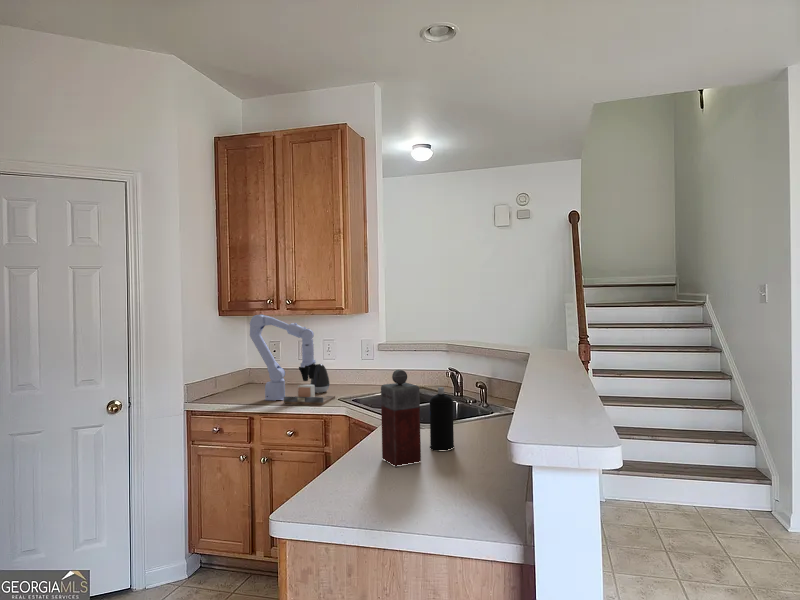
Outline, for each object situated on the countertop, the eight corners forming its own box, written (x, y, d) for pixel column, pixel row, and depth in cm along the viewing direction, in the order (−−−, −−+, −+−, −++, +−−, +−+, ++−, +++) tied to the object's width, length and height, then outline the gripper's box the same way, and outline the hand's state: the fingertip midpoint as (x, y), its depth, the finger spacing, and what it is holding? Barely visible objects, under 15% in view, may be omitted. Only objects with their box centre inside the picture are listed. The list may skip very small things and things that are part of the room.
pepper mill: (403, 453, 170) (402, 366, 170) (421, 462, 161) (419, 370, 160) (378, 457, 166) (376, 368, 166) (395, 467, 156) (393, 372, 156)
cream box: (301, 398, 262) (301, 384, 262) (314, 398, 261) (314, 384, 261) (297, 400, 257) (297, 386, 257) (311, 400, 256) (310, 386, 256)
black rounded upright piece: (331, 390, 290) (331, 362, 290) (327, 393, 279) (326, 365, 279) (313, 390, 291) (312, 362, 291) (308, 393, 280) (307, 365, 280)
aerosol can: (459, 449, 174) (458, 388, 174) (438, 453, 170) (437, 390, 170) (445, 443, 181) (444, 384, 181) (425, 447, 177) (423, 387, 177)
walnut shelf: (283, 403, 255) (283, 396, 255) (298, 397, 272) (298, 390, 272) (322, 404, 250) (322, 397, 250) (335, 397, 267) (335, 391, 267)
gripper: (309, 354, 259) (310, 382, 259) (320, 351, 273) (321, 377, 273) (296, 354, 261) (296, 382, 261) (307, 351, 275) (308, 377, 275)
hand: (308, 379), depth 267 cm, fingers open, 7 cm apart
